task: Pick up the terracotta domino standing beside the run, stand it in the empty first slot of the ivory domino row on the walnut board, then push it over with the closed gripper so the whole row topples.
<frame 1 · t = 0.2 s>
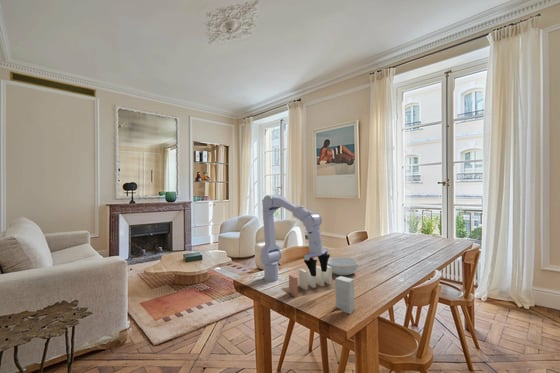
hand: (319, 273, 109), 10 cm above the table, tool pointing down, fingers open, 7 cm apart
skincare box: (345, 310, 98), on the table
domino 3: (311, 285, 119), point 1 cm above the table, touching board
domino 4: (319, 284, 121), point 1 cm above the table, touching board
board: (311, 290, 117), on the table
domino 5: (327, 282, 123), point 1 cm above the table, touching board
domino 2: (303, 287, 117), point 1 cm above the table, touching board
terracotta domino: (293, 294, 110), point 1 cm above the table, touching board
cereal bowl: (342, 274, 138), on the table
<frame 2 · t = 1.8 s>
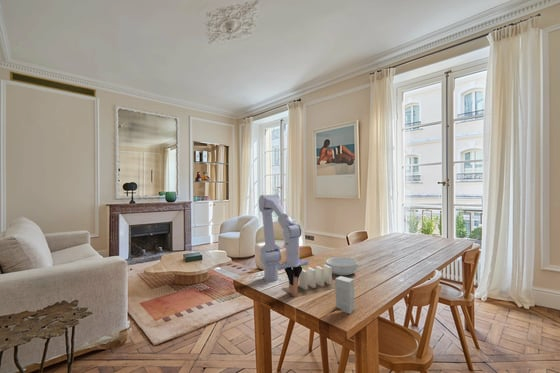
hand: (293, 283, 110), 6 cm above the table, tool pointing down, fingers closed on terracotta domino, 1 cm apart
terracotta domino: (293, 294, 110), point 1 cm above the table, touching board, gripper
everything else where it was.
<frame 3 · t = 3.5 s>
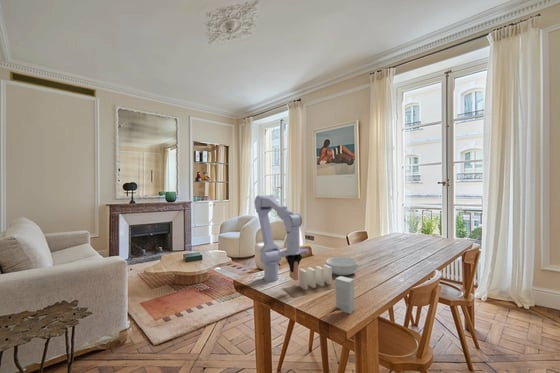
hand: (293, 271, 113), 10 cm above the table, tool pointing down, fingers closed on terracotta domino
terracotta domino: (293, 278, 113), point 7 cm above the table, touching gripper
everything else where it was.
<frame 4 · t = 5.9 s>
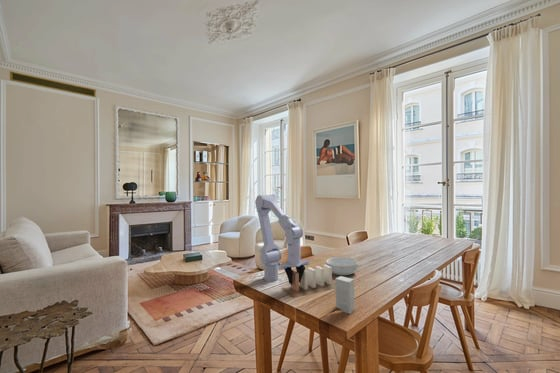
hand: (294, 282, 116), 4 cm above the table, tool pointing down, fingers open, 4 cm apart
domino 2: (303, 287, 117), point 1 cm above the table, touching board, gripper
terracotta domino: (294, 289, 116), point 1 cm above the table, touching board
everything else where it was.
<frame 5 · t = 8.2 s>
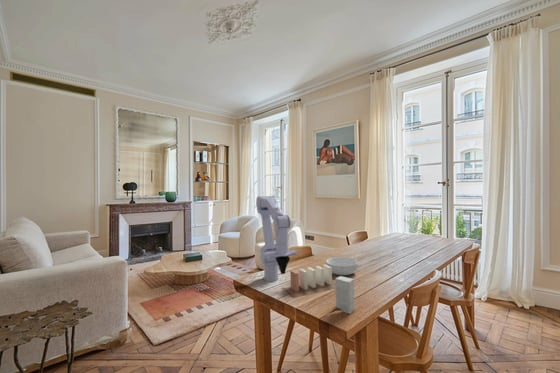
hand: (282, 273, 113), 9 cm above the table, tool pointing down, fingers closed
domino 2: (303, 287, 117), point 1 cm above the table, touching board
everything else where it was.
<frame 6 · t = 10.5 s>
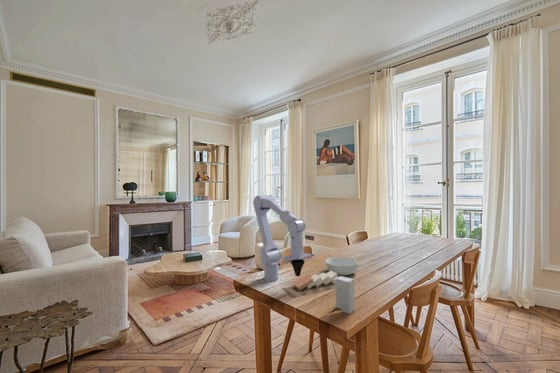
hand: (297, 275, 116), 7 cm above the table, tool pointing down, fingers closed
domino 3: (313, 283, 120), point 2 cm above the table, tilted 69°, touching board, domino 2, domino 4
domino 4: (321, 282, 122), point 2 cm above the table, tilted 67°, touching board, domino 3, domino 5
domino 5: (329, 280, 123), point 2 cm above the table, tilted 99°, touching board, domino 4
domino 2: (305, 285, 118), point 2 cm above the table, tilted 69°, touching board, domino 3, terracotta domino
terracotta domino: (296, 287, 116), point 2 cm above the table, tilted 69°, touching board, domino 2
everything else where it was.
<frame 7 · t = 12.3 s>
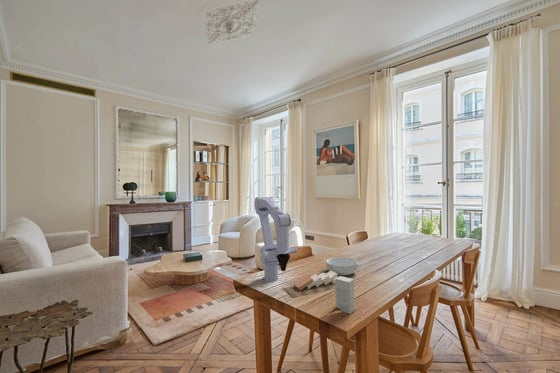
hand: (283, 270, 115), 10 cm above the table, tool pointing down, fingers closed
nothing on the table moved.
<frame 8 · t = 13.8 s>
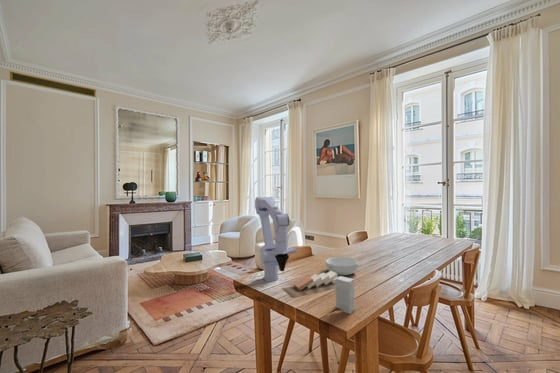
hand: (281, 270, 115), 10 cm above the table, tool pointing down, fingers closed
nothing on the table moved.
at the end: domino 5 tilted 99°; terracotta domino tilted 69°; terracotta domino inside the target area (0.6 cm from its centre), point 1.7 cm above the table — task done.
